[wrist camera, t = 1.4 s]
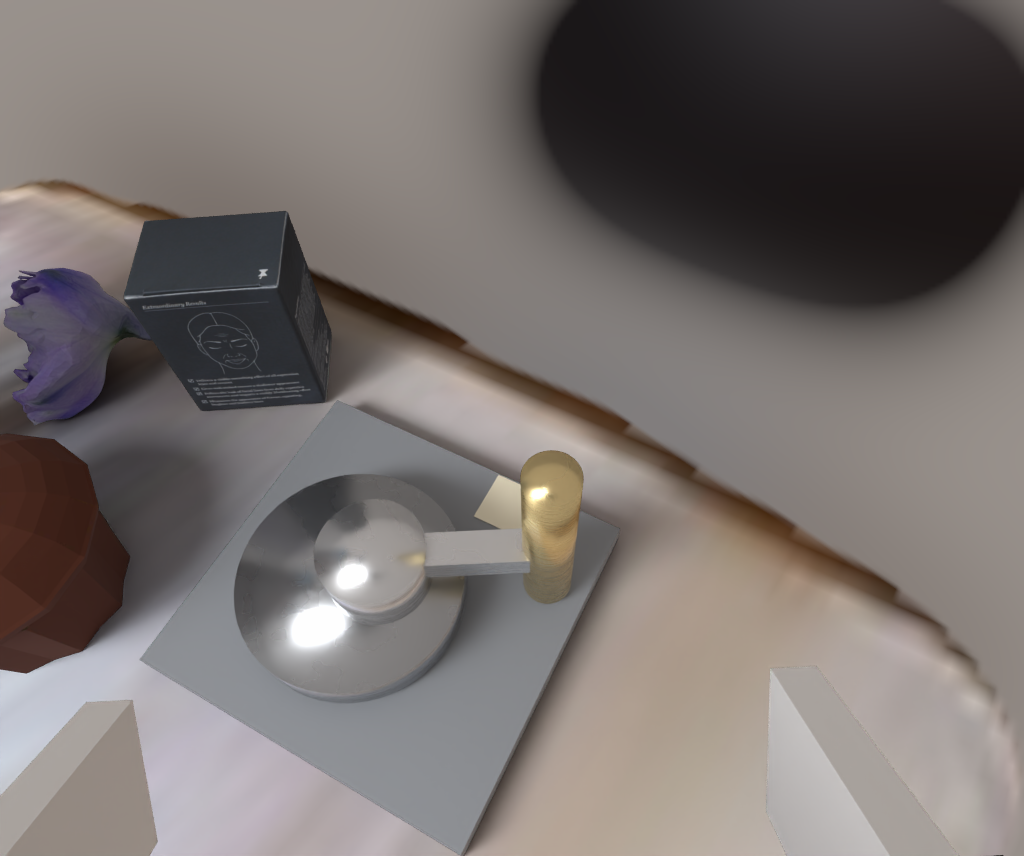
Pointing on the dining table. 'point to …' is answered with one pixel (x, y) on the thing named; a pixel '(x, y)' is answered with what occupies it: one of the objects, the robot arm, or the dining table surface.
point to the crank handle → (388, 576)
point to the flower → (65, 340)
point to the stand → (437, 693)
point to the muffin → (52, 555)
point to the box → (232, 309)
